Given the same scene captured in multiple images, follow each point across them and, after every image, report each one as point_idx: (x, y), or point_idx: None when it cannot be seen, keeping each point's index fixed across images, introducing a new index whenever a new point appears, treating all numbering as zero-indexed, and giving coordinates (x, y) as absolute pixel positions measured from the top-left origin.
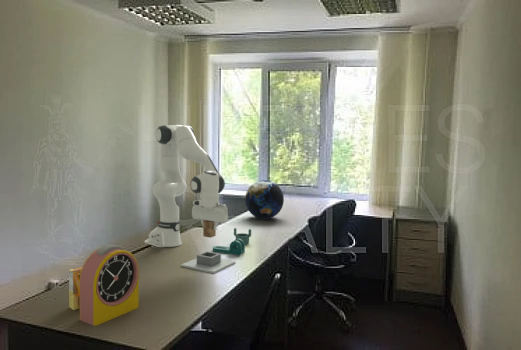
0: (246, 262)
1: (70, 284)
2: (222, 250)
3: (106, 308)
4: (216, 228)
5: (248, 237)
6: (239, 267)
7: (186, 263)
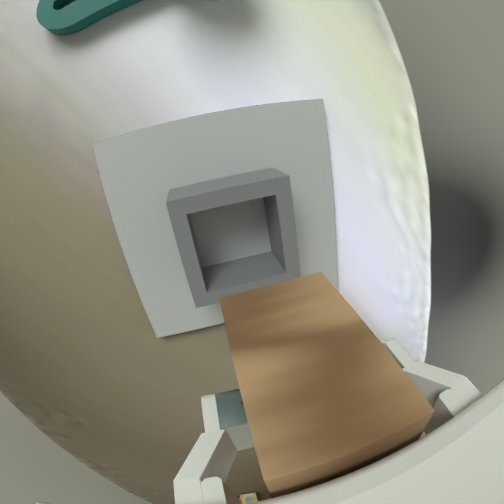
0: (347, 52)
1: None
2: (118, 3)
3: None
4: (400, 347)
5: None
6: (370, 142)
7: (158, 313)
